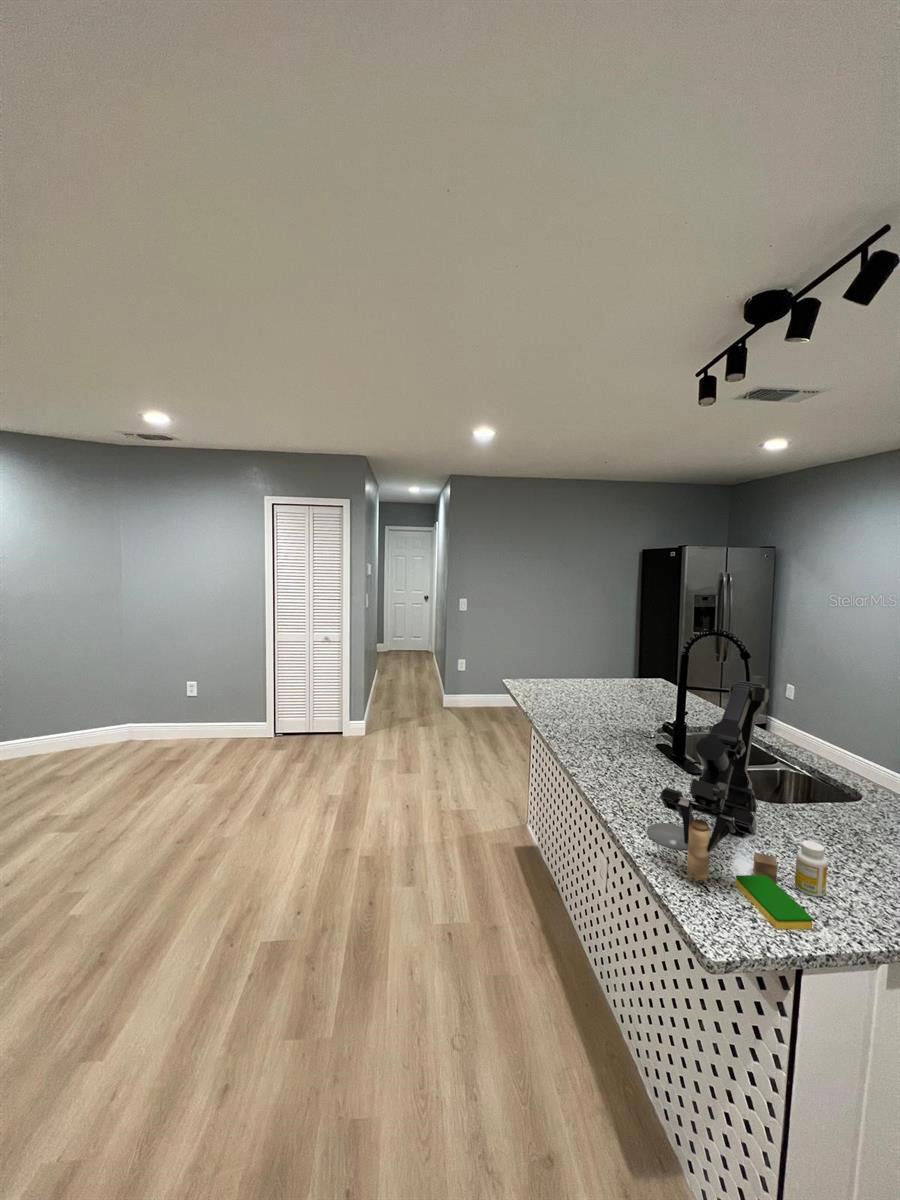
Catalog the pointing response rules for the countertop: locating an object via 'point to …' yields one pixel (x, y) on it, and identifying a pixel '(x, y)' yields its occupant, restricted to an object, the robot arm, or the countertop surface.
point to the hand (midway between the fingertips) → (697, 847)
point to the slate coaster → (668, 835)
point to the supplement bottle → (811, 869)
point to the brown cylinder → (698, 850)
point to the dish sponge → (773, 902)
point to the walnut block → (765, 865)
